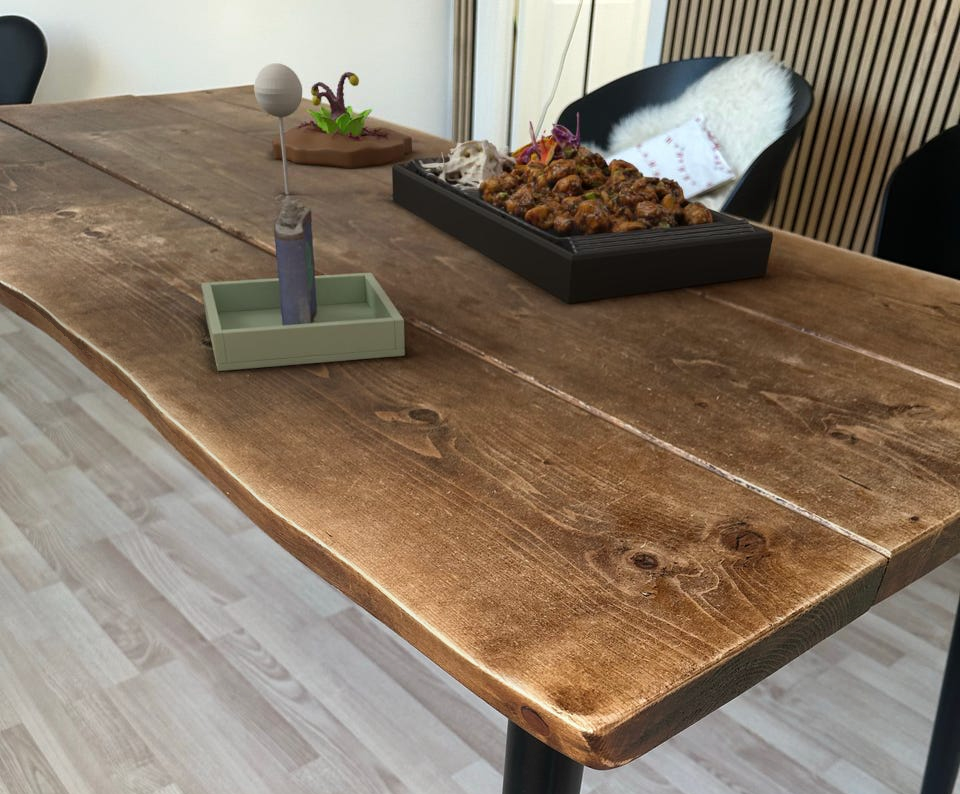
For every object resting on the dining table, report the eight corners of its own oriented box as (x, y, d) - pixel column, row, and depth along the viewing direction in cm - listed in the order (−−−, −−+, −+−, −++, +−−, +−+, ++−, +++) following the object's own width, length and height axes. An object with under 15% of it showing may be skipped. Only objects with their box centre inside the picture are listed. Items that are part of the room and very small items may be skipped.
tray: (217, 371, 78) (212, 333, 76) (206, 317, 89) (201, 282, 87) (404, 355, 82) (404, 319, 80) (372, 305, 92) (371, 272, 91)
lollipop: (279, 187, 131) (267, 59, 122) (318, 191, 129) (309, 62, 120) (256, 196, 126) (242, 64, 117) (296, 201, 125) (285, 67, 116)
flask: (312, 343, 82) (301, 209, 76) (277, 343, 82) (263, 209, 75) (320, 308, 89) (310, 183, 83) (288, 308, 89) (276, 183, 83)
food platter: (393, 201, 126) (390, 112, 120) (555, 187, 135) (560, 104, 129) (568, 303, 94) (577, 189, 88) (765, 275, 103) (786, 170, 97)
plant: (364, 173, 139) (360, 84, 133) (253, 158, 146) (244, 73, 139) (429, 150, 154) (428, 69, 147) (325, 137, 160) (320, 59, 154)
